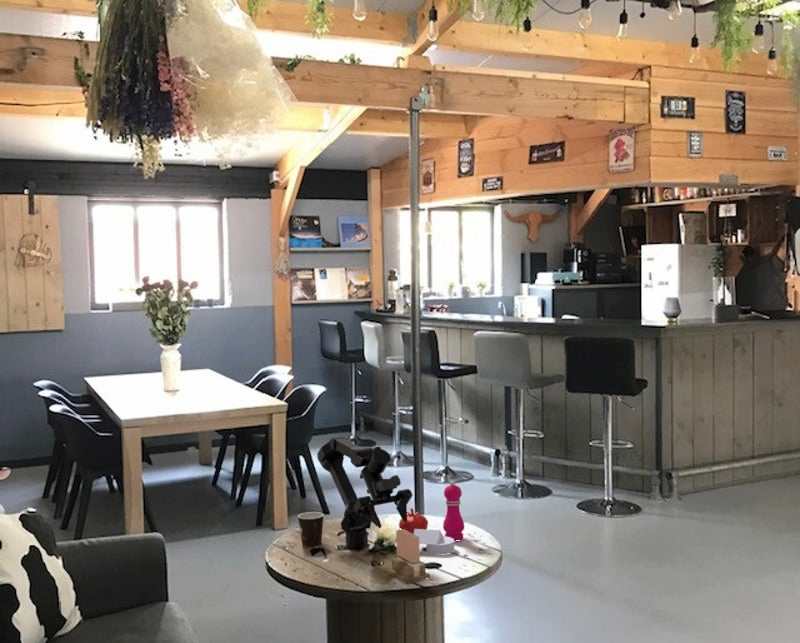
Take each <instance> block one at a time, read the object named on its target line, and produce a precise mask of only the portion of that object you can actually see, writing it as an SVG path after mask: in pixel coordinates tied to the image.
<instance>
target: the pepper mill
mask: <svg viewBox="0 0 800 643" xmlns="http://www.w3.org/2000/svg"><path fill="white" fill-rule="evenodd" d="M443 495H444V498H446V499H445V505H446V508H447V509H446V515H445V518H444V519H443V523H442V524H443V526H442V528H443V530H444V532H445V533H444V536H446V537H450V538H453V539H454V541H456V540H461V541H463V540H464V533H463V531H464V529H465V523H464V520H463V517H462V514H461V512H460V505H461V499H460V498H462V495H463V493H462V489H461V488H460V486H459V485H456V481H454V480H451V481H450V482H449V485H448V486H446V487H445V489H444V491H443ZM462 539H463V540H462Z"/></svg>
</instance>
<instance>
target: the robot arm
mask: <svg viewBox="0 0 800 643" xmlns="http://www.w3.org/2000/svg"><path fill="white" fill-rule="evenodd" d="M316 456H317V457H316V458H317V461H318V462H319V463H320V465H321V467H322V469H324V470H326V471H327V472H328V473H329V474H330V475H331V477H332V480H333V482H334V484H335V486H336V488H337V491H338V493H339V496H340V498H341V500H342V502H343V504H344V511H343V512H344V513H343V516H344V517H343V519H342V520H341V522H340V527H341V530H342V531H344V532H345V546H343V549H345V550H352V551H358V552H359V551H362V550H364V549H365V548H368V547H369V546H370V543H369V540H368V539H369V538H368V537H369V536H368V533H367V529H371V524H372V523H373V525H375V526H376V527H377V528H379V529H382V524H381V520H380V519H379V518H380V517H379V516H378V514H377V511H376V510H375V509H376V508H375V506H380V505H381V506H382V505H385V504H390V503H394V505H395V506H396V508H395V509H396V510H397V512H398V514H399V516H400V517H401V518H402V519H403V521H404V522H405V523H407V514H408V513H407V512H408V511H407V506H408V503H409V502H410V500H411V499H412V498H413V492H412V491H411V489H409V488H405V489H399V490H398V491H397V493H396V494H395V495H392V494H393V493H394V490H395V489H398V487H399V486H401V479H400V477H399V475H398V474H396V475H392V476H391V477H390V478H383V476H382V474H383V473H384V472H385V470H386V468H387V467H388V465H389V463H390V461H391V458H392V457H391V454H390V453H389V452H388V451H387V450H385V449H383V448H381V446H379V445H378V446H375V447H374V448H373V447H371V446H359V445H357V444H355V443H354V442H352V441H350V440H348V439H346V437H345V436H338V437H337V436H336V437H332V438H330V439H329V441H328V442H327V443H325V444H324V445H322V446H320V448H319V450H318V452H317V455H316ZM344 456H345V457H347V458H349V459H350V463H351V464H352V465H353V467H355V468H361V467H363V468H362V469H361V470H360V474H359V478H360V480H362V479H363V481H364V482H365V485H366V488H367V489H366V494H370V496H369V495H366V496H361V497H358V496H357V495H358V494H356V492H355V489H354V487H353V484H352V483H351V480H350V479H349V477H348V474H347V472H346V470H345V467H344V466H343V464H344V460H345V457H344Z"/></svg>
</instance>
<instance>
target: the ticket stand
mask: <svg viewBox="0 0 800 643" xmlns="http://www.w3.org/2000/svg"><path fill="white" fill-rule="evenodd" d="M387 574H388V575H390V576H391V577H394V578H396V579H397V580H399V581H401V582H403V583H404V584H406V585H409V584H413V583H417V582H420V580H421V581H424V580H423V579H425V580H427V579H426V578H429V579H431V574H430V573H428V572H427V571H426V564H425V563H423V562H416V563H411V562H409V561H407V560H405V559H404V558H402V557H400V556H398V555H397V554H396V558H391V568H389V569H388V568H387Z"/></svg>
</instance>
